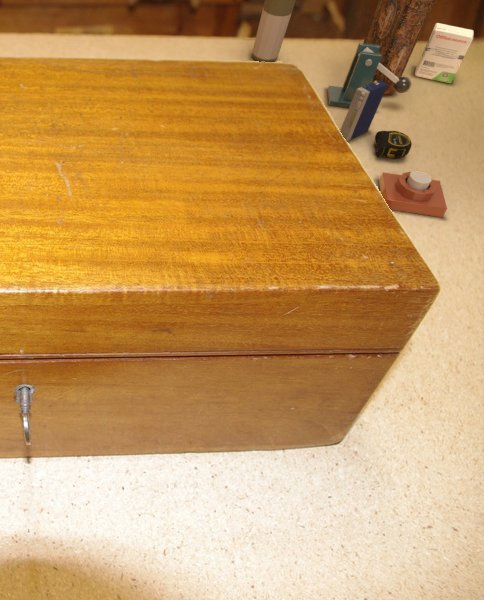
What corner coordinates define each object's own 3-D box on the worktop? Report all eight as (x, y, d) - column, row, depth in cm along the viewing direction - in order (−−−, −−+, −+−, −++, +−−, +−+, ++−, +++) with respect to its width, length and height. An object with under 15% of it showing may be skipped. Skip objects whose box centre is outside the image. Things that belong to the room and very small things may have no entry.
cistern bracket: (371, 95, 166) (392, 44, 156) (373, 111, 161) (396, 59, 152) (327, 89, 167) (346, 38, 158) (328, 105, 163) (348, 53, 153)
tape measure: (371, 141, 153) (378, 126, 150) (405, 146, 152) (412, 132, 149) (373, 159, 148) (379, 144, 146) (407, 165, 147) (414, 150, 144)
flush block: (435, 189, 142) (444, 173, 139) (442, 217, 136) (451, 201, 133) (378, 180, 143) (386, 164, 140) (383, 208, 137) (391, 192, 134)
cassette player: (359, 127, 157) (379, 78, 148) (367, 132, 155) (388, 83, 147) (336, 136, 154) (356, 87, 145) (345, 142, 153) (365, 92, 144)
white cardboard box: (452, 75, 173) (475, 29, 164) (450, 84, 170) (474, 38, 161) (415, 66, 175) (436, 21, 167) (413, 76, 172) (434, 30, 164)
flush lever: (399, 91, 162) (413, 79, 159) (401, 99, 159) (415, 87, 157) (355, 55, 158) (369, 43, 156) (356, 62, 156) (370, 50, 153)
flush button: (426, 179, 138) (430, 172, 137) (429, 192, 135) (433, 184, 134) (405, 176, 139) (408, 169, 137) (407, 188, 136) (411, 181, 135)
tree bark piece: (395, 96, 166) (442, -10, 147) (372, 94, 166) (416, -12, 148) (378, 61, 177) (420, -41, 159) (356, 60, 177) (395, -43, 159)
